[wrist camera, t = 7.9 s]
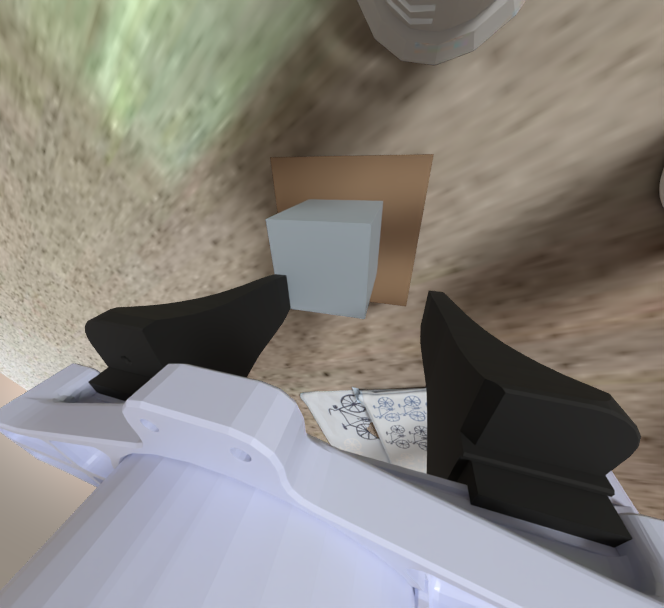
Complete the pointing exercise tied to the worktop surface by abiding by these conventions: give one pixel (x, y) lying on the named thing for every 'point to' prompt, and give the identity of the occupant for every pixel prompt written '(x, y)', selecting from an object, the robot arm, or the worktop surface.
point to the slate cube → (328, 254)
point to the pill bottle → (662, 188)
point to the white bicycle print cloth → (375, 423)
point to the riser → (371, 185)
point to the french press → (435, 26)
